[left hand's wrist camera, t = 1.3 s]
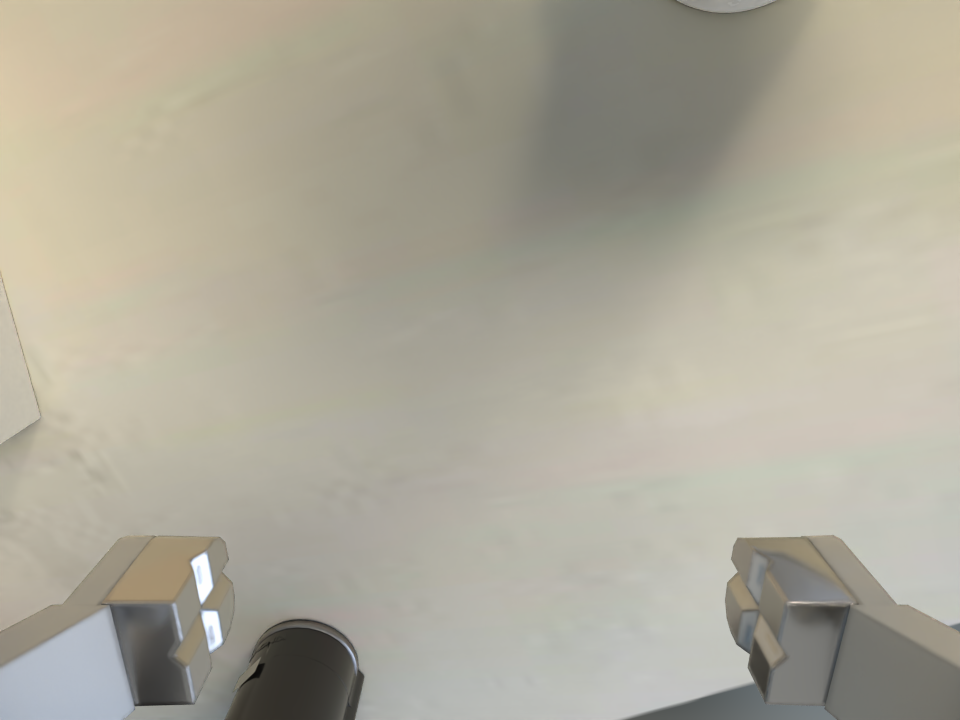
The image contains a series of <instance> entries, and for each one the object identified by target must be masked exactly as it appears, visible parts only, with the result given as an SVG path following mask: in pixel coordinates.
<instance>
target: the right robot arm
mask: <svg viewBox="0 0 960 720" xmlns="http://www.w3.org/2000/svg"><path fill="white" fill-rule="evenodd" d="M363 681H364V675H363V674H362V673H360V671H359V670H358V659H357V655H356V652H355V650H354V648H353V647H352V645H351V644H350V642H349V641H348V640H347V639H346V638H345V637H344V636H343V635H342V634H340V633H339V632H338V631H336V630H334V629H333V628H331V627H329V626H326V625H324V624H321V623H317V622H312V621H290V622H285V623H282V624H279V625H277V626H275V627H273V628H271V629H269V630H268V631H267V632H266V633H265V634H263V636H262V637H261V638H260V639H259V641H258V643H257V645H256V647H255V649H254V652H253V654H252V658H251V660H250V662H249V666H248V668H247V670H246V672H245V673H244V674H242V675H241V676H240V677H239V680H238V682H237V684H236V686H235V688H234V691H235V690H236V689H237V688H238V687H239V688H238V690H237V693H236V695H235V697H234V699H233V702H232V704H231V706H230V709H229V711H228V713H227V715H226V718H225V720H355V717H356V712H357V708H358V703H359V699H360V694H361V690H362V685H363ZM234 691H233V692H234Z"/></svg>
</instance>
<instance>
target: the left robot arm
mask: <svg viewBox="0 0 960 720" xmlns="http://www.w3.org/2000/svg"><path fill="white" fill-rule="evenodd" d="M677 1H678V2H680V3H682V4H685V5H687V6H690V7H692V8H695V9H699V10H703V11H709V12H717V13H732V12H741V11H747V10H751V9H755V8H758V7H761V6H764V5H767V4H769V3H771V2H773V1H775V0H677ZM228 560H229V558H228V553H227V549H226V544H225V541H224V540H222V539H221V538H220V537H196V536H125V537H122V538H120V539H118V540H117V542H116V543H115V544H114V545H113V546H112V547H111V549H110V550H109V551H108V552H107V553H106V554H105V556H104V557H103V558H102V559H101V560H100V561H99V563H98V564H97V565H96V566H95V567H94V568H93V570H92V571H91V572H90V573H89V574H88V575H87V577H86V578H85V579H84V580H83V581H82V582H81V584H80V585H79V586H78V587H77V588H76V589H75V591H74V592H73V593H72V594H71V595H70V596H69V598H68V599H67V600H66V601H65V602H64V603H63V605H51V606H49V607H47V608H45V609H43V610H41V611H39V612H37V613H36V614H34V615H32V616H30V617H28V618H26V619H24V620H22V621H20V622H18V623H16V624H14V625H13V626H11V627H9V628H7V629H5V630H3V631H1V632H0V720H123V719H124V718H126V717H127V716H128V715H129V714H130V713H131V712H133V711H134V710H135V706H153V705H187V704H195V702H196V700H197V698H198V696H199V693H200V691H201V689H202V687H203V685H204V683H205V681H206V679H207V677H208V675H209V673H210V671H211V669H212V664H211V658H210V654H211V653H212V652H214V651H215V650H216V649H218V648H219V647H221V646H222V645H223V644H224V642H225V640H226V638H227V635H228V633H229V631H230V628H231V623H232V619H233V614H234V589H233V583H232V582H231V581H230V580H229V579H228V578H227V577H226V576H225V574H224V573H223V572H222V571H223V569H224V567H225V565H226V563H227V562H228ZM731 560H732V562H733V564H734V565H735V567H736V569H737V571H738V572H737V573H736V574H735V575H734V576H733V577H732V578H731V579H730V580H729V581H728V582H727V589H726V597H725V605H726V616H727V621H728V624H729V628H730V631H731V634H732V636H733V638H734V640H735V642H736V644H737V645H738V646H739V647H741V648H742V649H743V650H745V651H746V652H747V653H749V654H750V657H749V663H748V669H749V671H750V673H751V675H752V677H753V680H754V682H755V684H756V686H757V688H758V690H759V692H760V694H761V696H762V698H763V700H764V702H765V704H771V705H806V706H825V710H826V711H828V712H829V713H830V714H831V715H832V716H833V717H835V718H836V719H837V720H960V632H958V631H957V630H955V629H953V628H951V627H949V626H947V625H945V624H943V623H941V622H939V621H938V620H936V619H934V618H932V617H930V616H928V615H926V614H924V613H922V612H920V611H919V610H917V609H915V608H913V607H911V606H909V605H897V604H896V603H895V601H894V600H893V599H892V598H891V597H890V596H889V594H888V593H887V592H886V591H885V590H884V589H883V587H882V586H881V585H880V584H879V583H878V582H877V580H876V579H875V578H874V577H873V576H872V575H871V573H870V572H869V571H868V570H867V569H866V568H865V566H864V565H863V564H862V563H861V562H860V561H859V559H858V558H857V557H856V556H855V555H854V554H853V552H852V551H851V550H850V549H849V548H848V547H847V545H846V544H845V543H844V542H843V541H842V540H841V539H840V538H838V537H836V536H834V535H823V536H801V537H759V538H737V540H736V542H735V544H734V546H733V552H732V557H731Z"/></svg>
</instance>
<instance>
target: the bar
mask: <svg viewBox="0 0 960 720" xmlns="http://www.w3.org/2000/svg"><path fill="white" fill-rule="evenodd" d="M40 418H41V415H40V411H39V408H38V404H37V401H36V397H35V394H34V390H33V387H32V383H31V380H30V376H29V373H28V369H27V366H26V362H25V359H24V355H23V352H22V348H21V345H20V341H19V338H18V334H17V331H16V327H15V324H14V320H13V317H12V313H11V310H10V306H9V303H8V299H7V296H6V292H5V289H4V285H3V282H2V278H1V275H0V444H2V443H3V442H5V441H6V440H8V439H9V438H11V437H12V436H14V435H15V434H17V433H18V432H20V431H21V430H23V429H24V428H26V427H27V426H29V425H30V424H32V423H34V422H35V421H37V420H38V419H40Z"/></svg>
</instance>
